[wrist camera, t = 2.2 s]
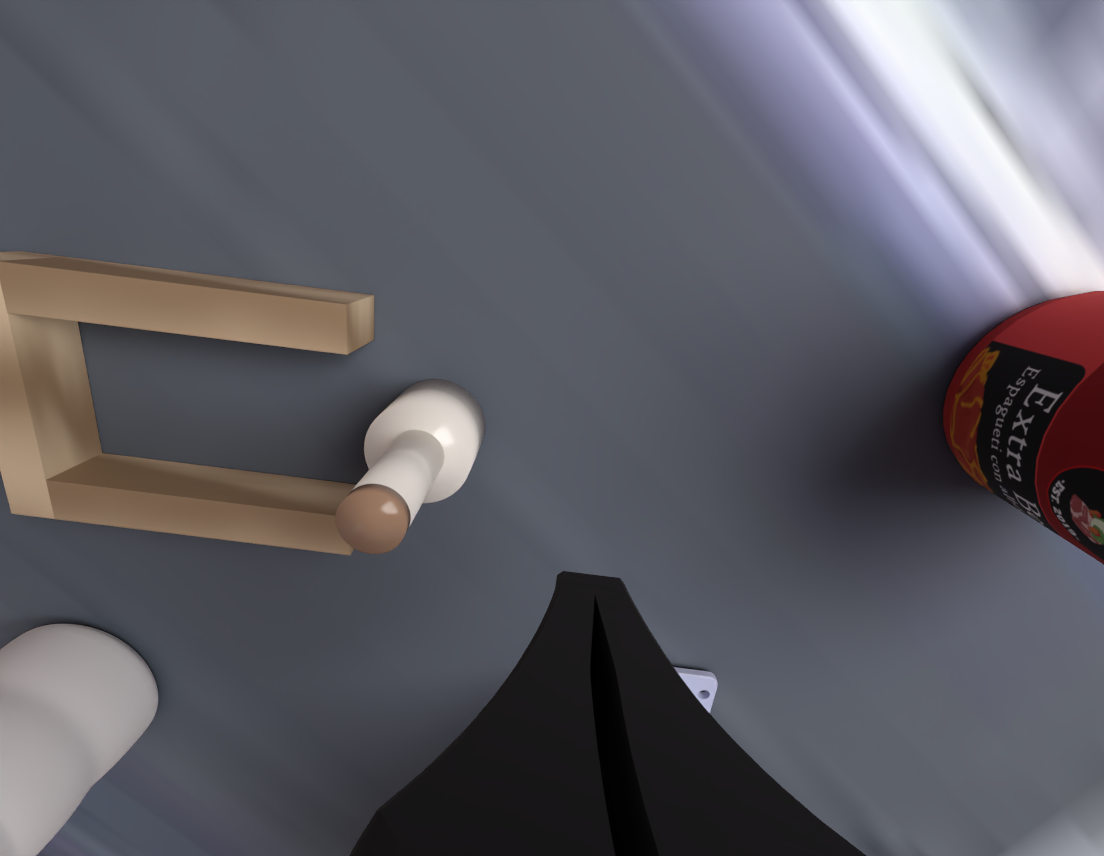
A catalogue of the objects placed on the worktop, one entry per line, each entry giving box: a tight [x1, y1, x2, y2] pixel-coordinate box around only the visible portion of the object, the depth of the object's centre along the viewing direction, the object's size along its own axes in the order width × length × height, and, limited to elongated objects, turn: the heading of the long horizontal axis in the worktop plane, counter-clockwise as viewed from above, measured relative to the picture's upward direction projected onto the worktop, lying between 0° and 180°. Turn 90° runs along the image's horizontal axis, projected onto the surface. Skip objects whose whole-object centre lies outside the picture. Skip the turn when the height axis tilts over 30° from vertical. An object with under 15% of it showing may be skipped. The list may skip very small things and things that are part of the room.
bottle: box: [335, 379, 485, 554], centre depth 17 cm, size 4×4×8 cm
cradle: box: [0, 251, 374, 555], centre depth 20 cm, size 9×13×2 cm
